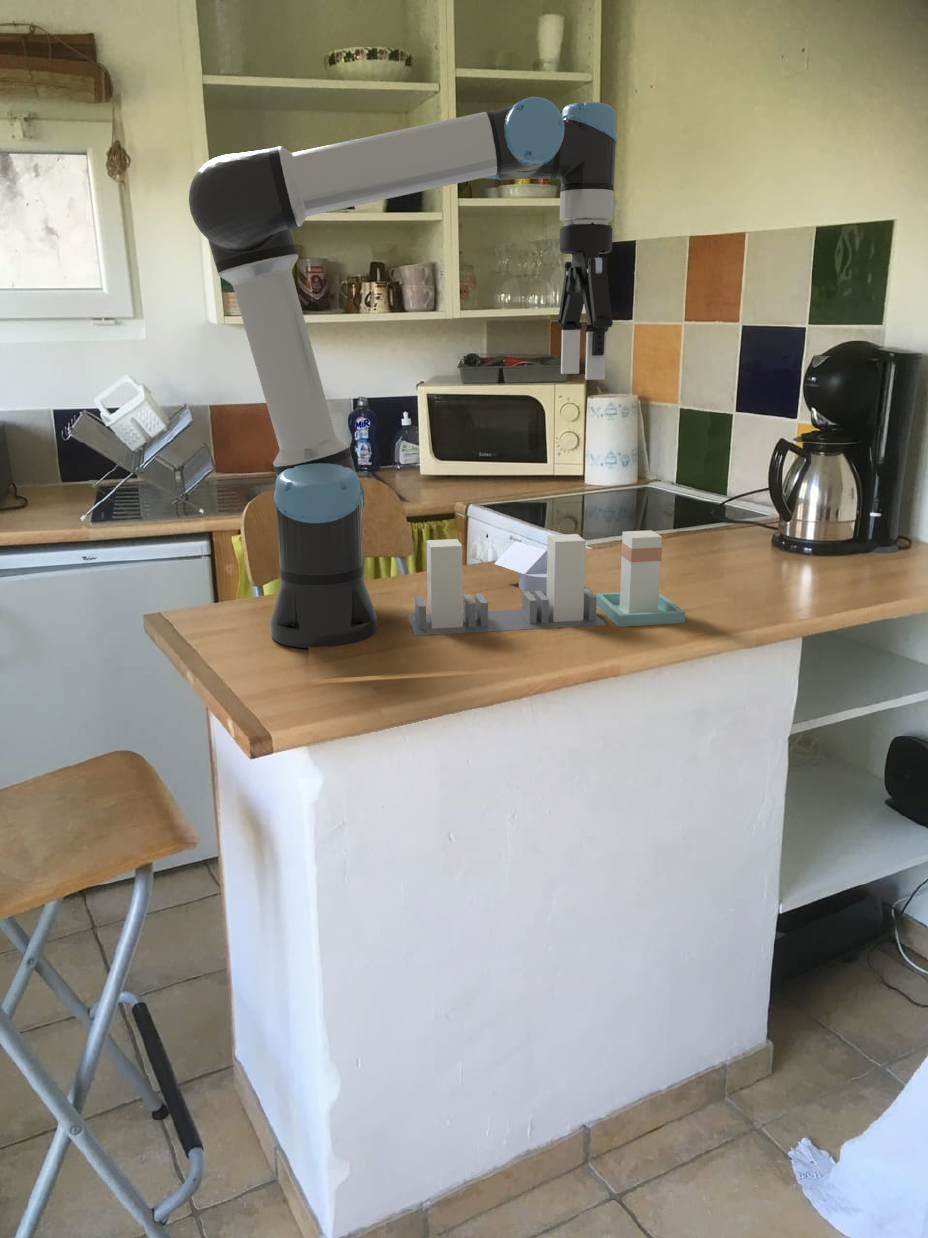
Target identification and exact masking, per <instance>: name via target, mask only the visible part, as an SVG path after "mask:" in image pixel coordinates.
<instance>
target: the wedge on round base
mask: <svg viewBox="0 0 928 1238" xmlns="http://www.w3.org/2000/svg"><path fill="white" fill-rule="evenodd" d="M493 564H494V565H496V566H500V567H503V568H504V569H505V568H506V569H508V570H511V571H514V572H516V573H518V589H519V590H521V591H522V592H525V591H529V592H530V593H531V594H534V591H541V592H542V593H543V594H544V595H547V549H543V548H540V547H537V546H533V545H530V544H527V543H524V542H521V541H516V540H515V541H514V542H513V543H512V544H511V545H510V546H509V547H508V549H506V551H504V553H502V554H501V556H500V557H499V558H498V559H497V560H496V561H495V562H494V563H493Z"/></svg>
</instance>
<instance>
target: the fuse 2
mask: <svg viewBox="0 0 928 1238" xmlns="http://www.w3.org/2000/svg"><path fill="white" fill-rule="evenodd" d="M586 541H587V540H586V539H584V538H583V537H581V535H580V534H577V533H573V534H572V533H571V534H550V535H549V534H548V535H547V544H546V545H547V549H546V550H547V594H545V596H546V597H547V598H548V599H549V613H548V616H549V617H550V618H551V620H552V621H553V622H562V621H580V620H583V611H584V589H585V579H586V577H585V576H586V575H585V573H586V572H585V571H586Z"/></svg>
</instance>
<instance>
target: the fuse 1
mask: <svg viewBox="0 0 928 1238" xmlns="http://www.w3.org/2000/svg"><path fill="white" fill-rule="evenodd" d="M426 581H427V582H426V583H427V584H426V587H427V588H426V590H427V614H428V621H429V623H430V625H431V628H432V629H434V628H452V627H463V595H464V593H463V587H464V585H463V584H464V583H463V545H462V544H461V542H460V541H459V539H458V538H453V539H452V538H451V539H450V538H449V539H428V540H426Z"/></svg>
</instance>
